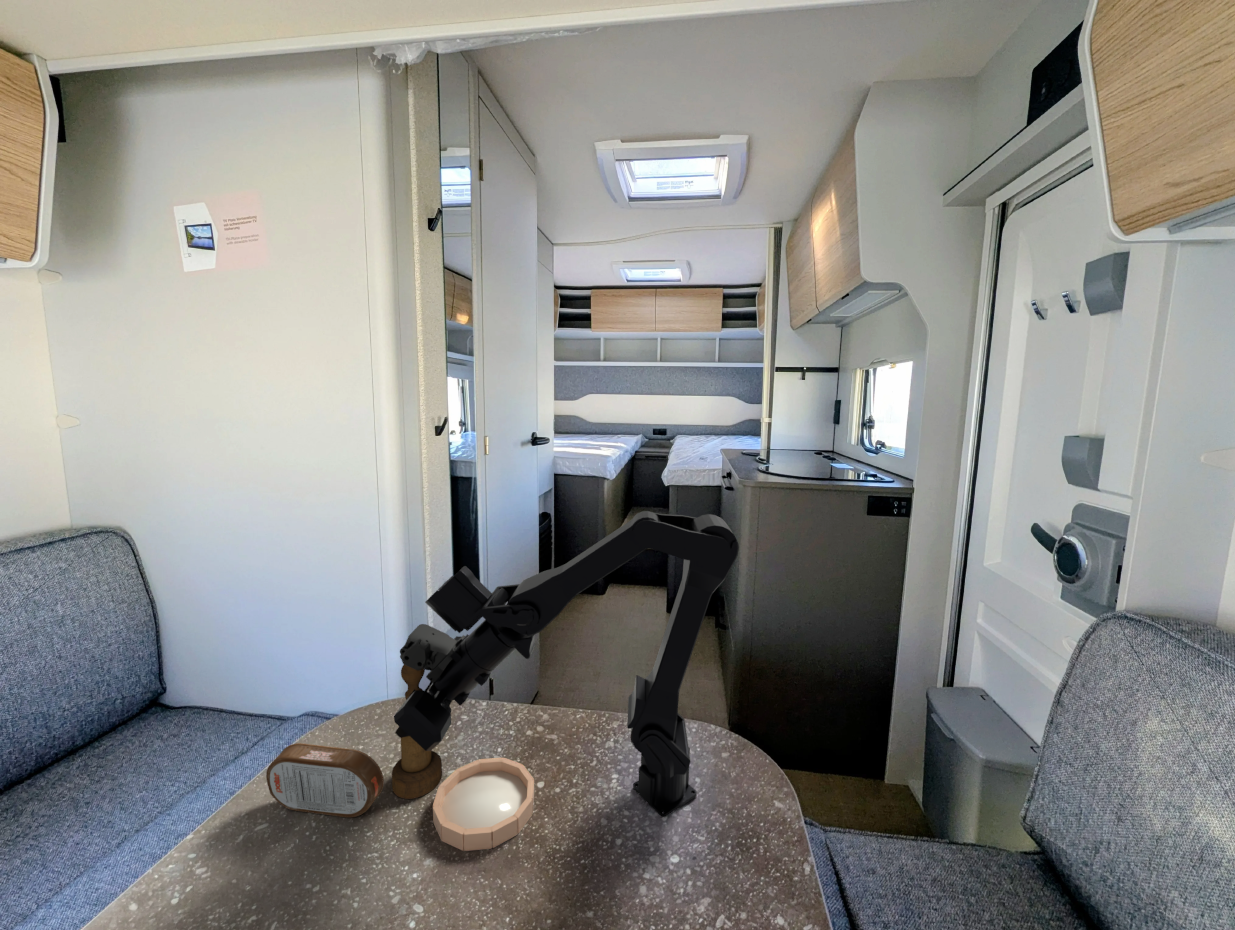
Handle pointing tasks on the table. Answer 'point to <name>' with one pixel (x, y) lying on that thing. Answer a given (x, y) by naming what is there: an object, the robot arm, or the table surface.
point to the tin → (324, 780)
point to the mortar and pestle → (415, 755)
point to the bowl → (483, 804)
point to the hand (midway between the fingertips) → (405, 724)
